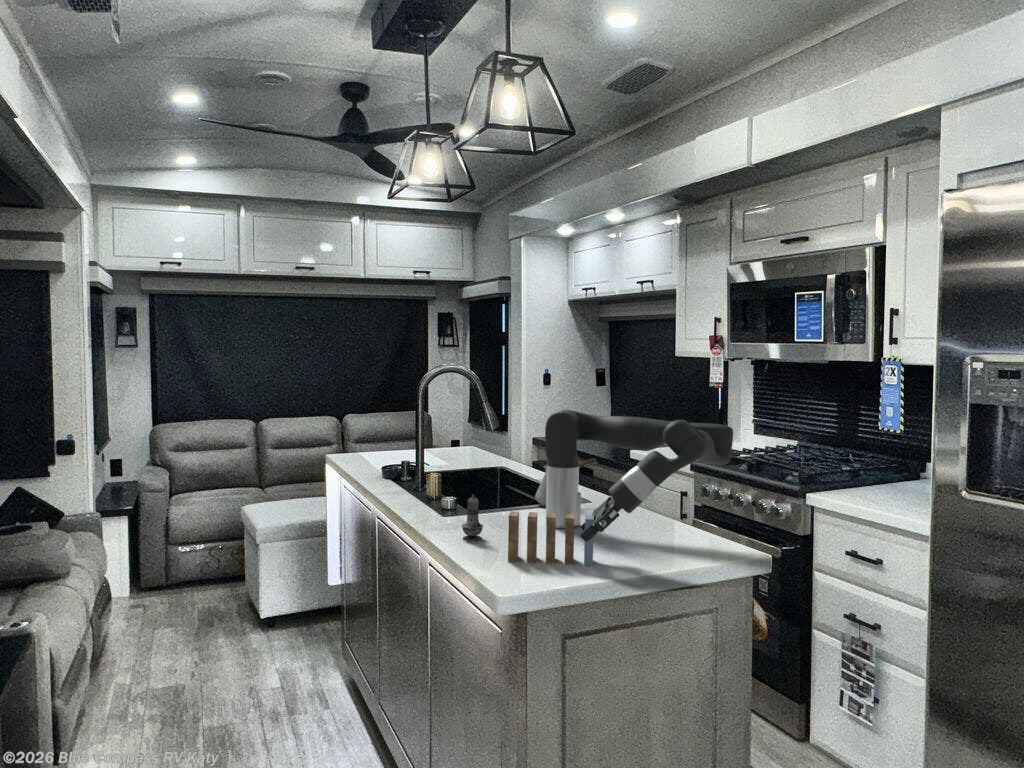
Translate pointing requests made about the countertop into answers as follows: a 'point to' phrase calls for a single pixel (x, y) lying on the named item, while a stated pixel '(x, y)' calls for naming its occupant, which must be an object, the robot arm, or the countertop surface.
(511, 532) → the domino
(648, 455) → the robot arm
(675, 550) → the countertop surface
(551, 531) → the domino
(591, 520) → the blue domino
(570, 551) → the domino
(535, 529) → the domino
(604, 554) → the countertop surface
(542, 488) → the coffee pot
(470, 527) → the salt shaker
